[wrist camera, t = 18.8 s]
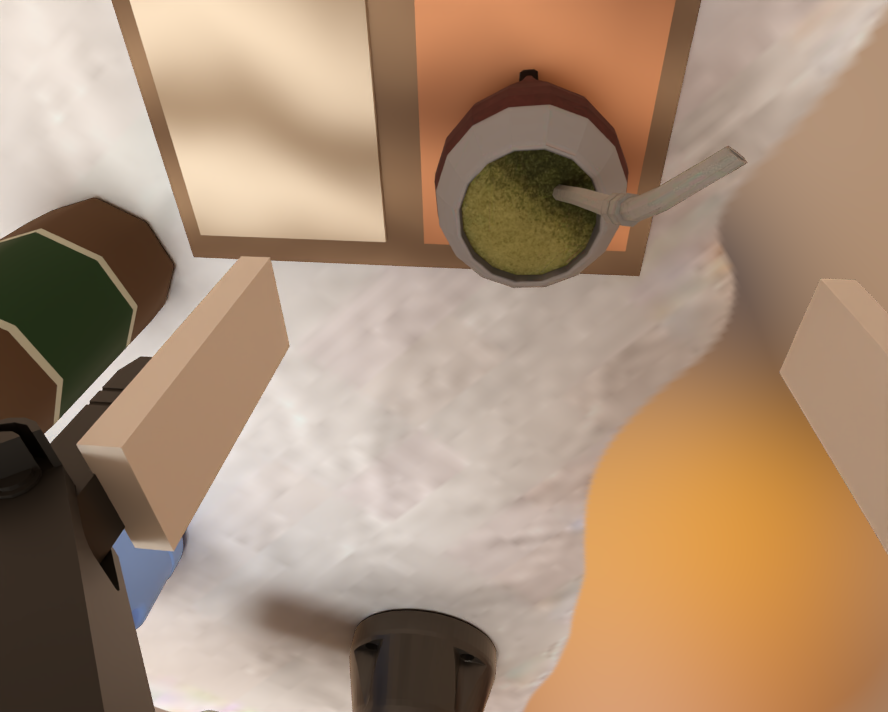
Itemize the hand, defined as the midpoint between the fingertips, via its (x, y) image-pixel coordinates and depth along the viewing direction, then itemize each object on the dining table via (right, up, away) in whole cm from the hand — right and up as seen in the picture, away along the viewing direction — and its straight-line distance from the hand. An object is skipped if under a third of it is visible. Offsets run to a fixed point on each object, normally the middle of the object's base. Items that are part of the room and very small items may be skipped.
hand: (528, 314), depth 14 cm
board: (-4, +10, +13) cm, 17 cm away
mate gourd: (+2, +9, +11) cm, 14 cm away
